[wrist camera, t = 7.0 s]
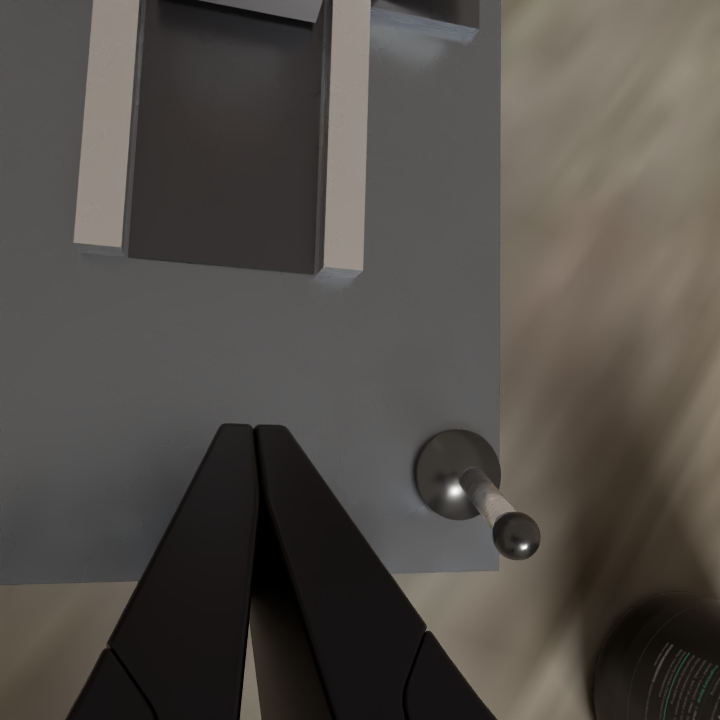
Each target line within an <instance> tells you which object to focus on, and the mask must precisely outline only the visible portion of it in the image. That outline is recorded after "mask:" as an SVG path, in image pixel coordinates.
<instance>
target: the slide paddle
mask: <svg viewBox="0 0 720 720" xmlns="http://www.w3.org/2000/svg"><path fill="white" fill-rule="evenodd" d="M200 1H206V2H211V3H216V4H221V5H226V6H231V7H236V8H241V9H247V10H252V11H257V12H262V13H267V14H272V15H277V16H282V17H288V18H293V19H298V20H303V21H308V22H313V23H316V20H317V17H318V14H319V11H320V8H321V4H322V1H323V0H200Z"/></svg>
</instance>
